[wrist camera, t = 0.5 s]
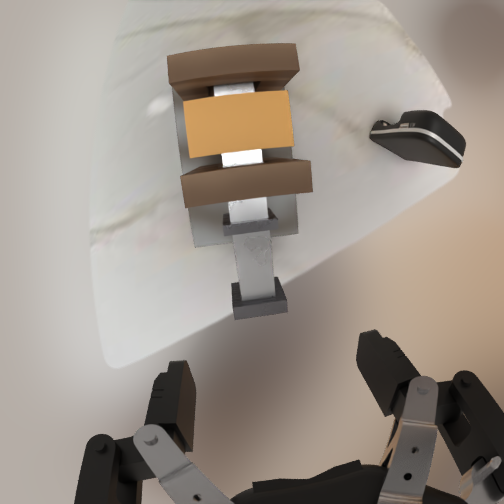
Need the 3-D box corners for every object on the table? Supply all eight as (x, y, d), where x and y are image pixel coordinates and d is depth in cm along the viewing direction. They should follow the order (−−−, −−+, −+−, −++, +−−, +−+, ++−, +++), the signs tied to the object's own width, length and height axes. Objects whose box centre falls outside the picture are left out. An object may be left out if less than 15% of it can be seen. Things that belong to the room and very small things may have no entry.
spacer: (194, 115, 22) (182, 101, 16) (271, 106, 23) (287, 90, 16) (199, 157, 24) (189, 158, 17) (276, 147, 24) (294, 146, 18)
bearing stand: (172, 77, 26) (135, 27, 12) (278, 65, 26) (317, 10, 13) (196, 244, 33) (177, 309, 19) (295, 230, 33) (342, 285, 20)
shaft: (202, 67, 19) (197, 49, 15) (254, 61, 19) (260, 43, 15) (233, 294, 27) (234, 319, 22) (278, 287, 27) (287, 312, 23)
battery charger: (414, 137, 30) (474, 140, 19) (406, 161, 31) (466, 172, 21) (374, 112, 29) (433, 102, 18) (366, 138, 30) (424, 137, 19)
